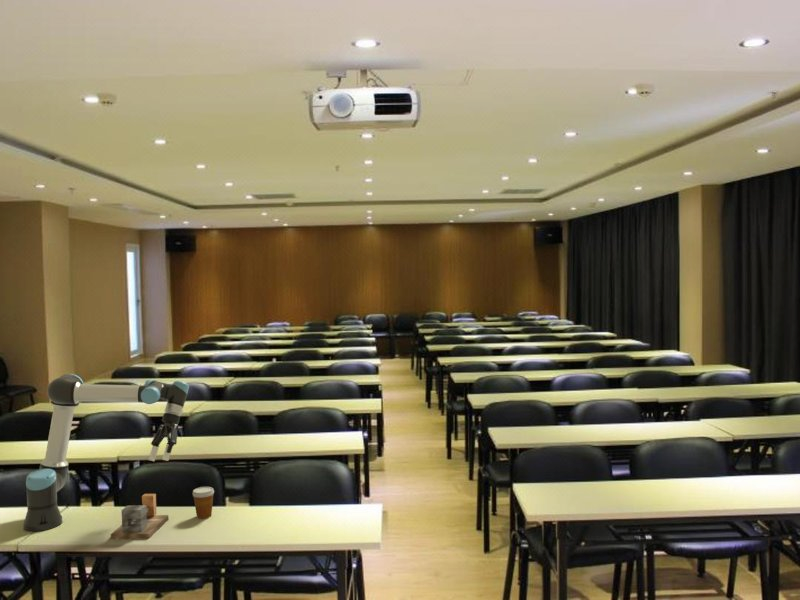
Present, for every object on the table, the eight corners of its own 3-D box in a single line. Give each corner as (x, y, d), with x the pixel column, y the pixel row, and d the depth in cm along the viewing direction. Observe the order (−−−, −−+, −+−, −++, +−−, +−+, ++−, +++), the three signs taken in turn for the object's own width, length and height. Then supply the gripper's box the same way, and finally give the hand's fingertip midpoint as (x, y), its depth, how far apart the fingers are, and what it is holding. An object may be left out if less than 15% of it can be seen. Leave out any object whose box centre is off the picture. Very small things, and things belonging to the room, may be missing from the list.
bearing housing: (110, 538, 288) (109, 512, 288) (132, 520, 310) (131, 495, 310) (149, 538, 288) (148, 511, 288) (168, 519, 310) (167, 494, 309)
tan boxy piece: (133, 524, 298) (132, 503, 297) (145, 513, 311) (144, 493, 310) (144, 524, 298) (144, 503, 297) (156, 513, 310) (155, 493, 310)
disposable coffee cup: (192, 521, 307) (191, 494, 307) (193, 514, 316) (192, 487, 316) (215, 518, 310) (214, 491, 309) (215, 511, 319) (214, 485, 318)
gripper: (192, 415, 317) (178, 462, 308) (167, 418, 334) (153, 462, 326) (177, 410, 312) (163, 457, 304) (152, 413, 330) (138, 458, 321)
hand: (158, 460), depth 315 cm, fingers open, 13 cm apart
